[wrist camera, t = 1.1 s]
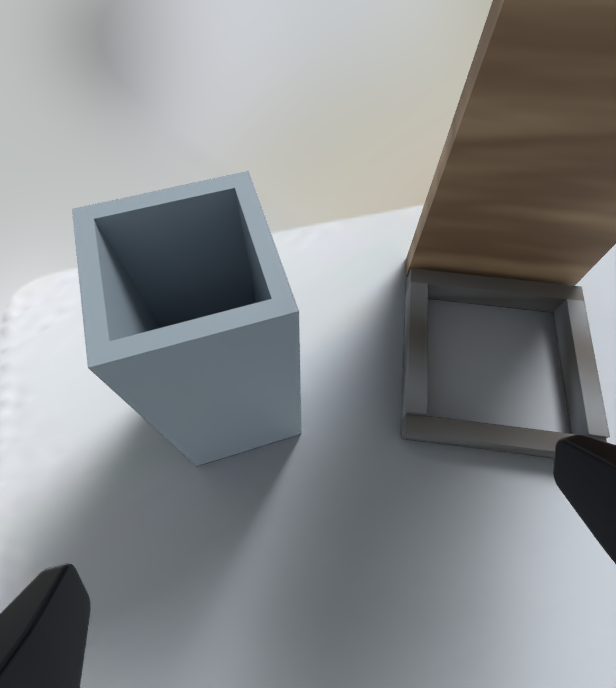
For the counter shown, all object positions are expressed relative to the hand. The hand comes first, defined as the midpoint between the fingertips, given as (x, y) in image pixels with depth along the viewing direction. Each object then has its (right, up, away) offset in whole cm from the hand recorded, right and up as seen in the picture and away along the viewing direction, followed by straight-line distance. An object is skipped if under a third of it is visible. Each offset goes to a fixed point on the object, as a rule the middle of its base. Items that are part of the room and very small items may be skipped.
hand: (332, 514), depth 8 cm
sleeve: (-4, 0, +16) cm, 16 cm away
